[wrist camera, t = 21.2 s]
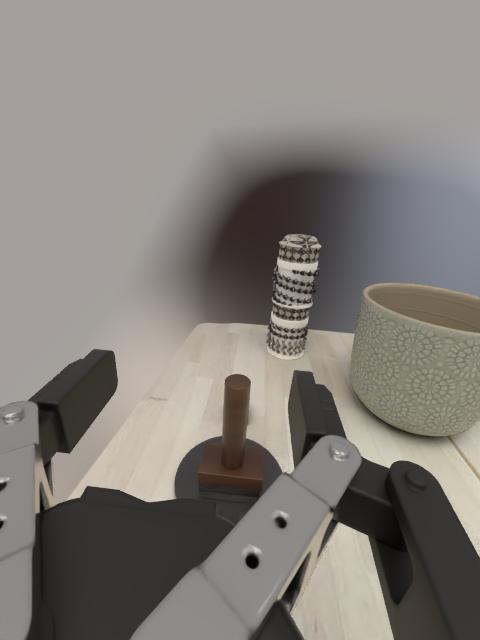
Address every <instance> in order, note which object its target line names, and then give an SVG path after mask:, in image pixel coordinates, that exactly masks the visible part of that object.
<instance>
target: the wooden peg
mask: <svg viewBox="0 0 480 640" xmlns="http://www.w3.org/2000/svg"><path fill="white" fill-rule="evenodd" d="M250 386H251V381H250V379H249V378H248V377H246V376H244V375H240V374H234V375H230V376H228V377H227V378H226V379H225V389H224V410H223V430H222V444H213V443H205V445H204V449H203V453H202V457H201V461H200V465H199V469H198V484H199V490H204V491H213V492H221V493H229V494H238V495H246V496H254V497H260V493H261V491H262V486H263V451H264V450H263V449H258V448H249V447H245V440H246V429H247V419H248V408H249V397H250Z"/></svg>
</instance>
